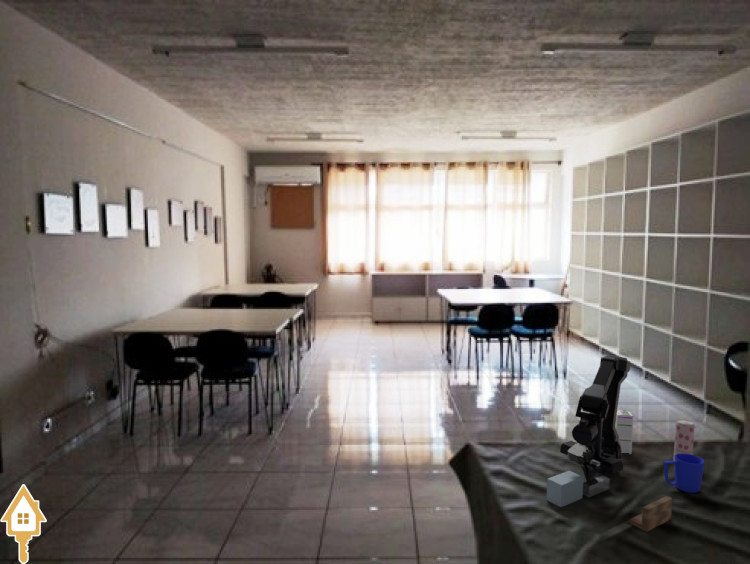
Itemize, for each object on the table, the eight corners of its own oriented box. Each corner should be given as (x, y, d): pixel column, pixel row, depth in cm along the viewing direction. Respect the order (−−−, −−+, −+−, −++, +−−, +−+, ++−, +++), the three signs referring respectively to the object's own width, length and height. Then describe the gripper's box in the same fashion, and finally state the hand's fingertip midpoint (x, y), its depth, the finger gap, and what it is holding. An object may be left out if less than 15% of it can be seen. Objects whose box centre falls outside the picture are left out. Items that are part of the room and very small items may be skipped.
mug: (655, 483, 177) (657, 453, 176) (691, 482, 178) (693, 452, 177) (671, 496, 169) (673, 464, 168) (708, 495, 170) (710, 463, 169)
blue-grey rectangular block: (567, 495, 168) (569, 470, 168) (582, 502, 164) (583, 476, 164) (546, 504, 163) (547, 478, 162) (560, 511, 159) (561, 485, 158)
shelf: (584, 480, 178) (585, 462, 178) (670, 519, 155) (672, 498, 155) (560, 490, 172) (561, 470, 171) (646, 531, 149) (648, 509, 148)
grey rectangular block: (602, 486, 172) (602, 475, 172) (609, 489, 170) (609, 478, 170) (582, 494, 167) (582, 483, 166) (588, 497, 165) (589, 486, 164)
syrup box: (632, 454, 200) (634, 415, 199) (614, 453, 201) (617, 414, 200) (628, 448, 206) (630, 410, 204) (611, 446, 207) (613, 409, 205)
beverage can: (685, 468, 189) (688, 425, 187) (669, 462, 194) (672, 420, 192) (695, 464, 192) (698, 423, 190) (679, 458, 197) (682, 418, 195)
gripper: (549, 429, 172) (547, 477, 174) (602, 450, 156) (599, 502, 158) (572, 423, 178) (570, 469, 180) (625, 442, 162) (622, 493, 164)
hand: (588, 483), depth 170 cm, fingers closed
